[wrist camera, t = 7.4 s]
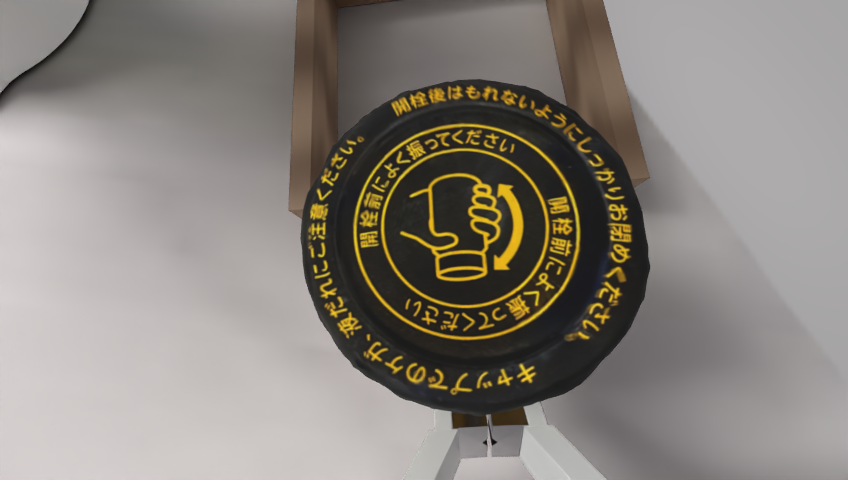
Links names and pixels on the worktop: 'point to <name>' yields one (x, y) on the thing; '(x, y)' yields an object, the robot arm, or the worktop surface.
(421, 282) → the condiment
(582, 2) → the box
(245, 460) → the worktop surface
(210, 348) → the worktop surface
